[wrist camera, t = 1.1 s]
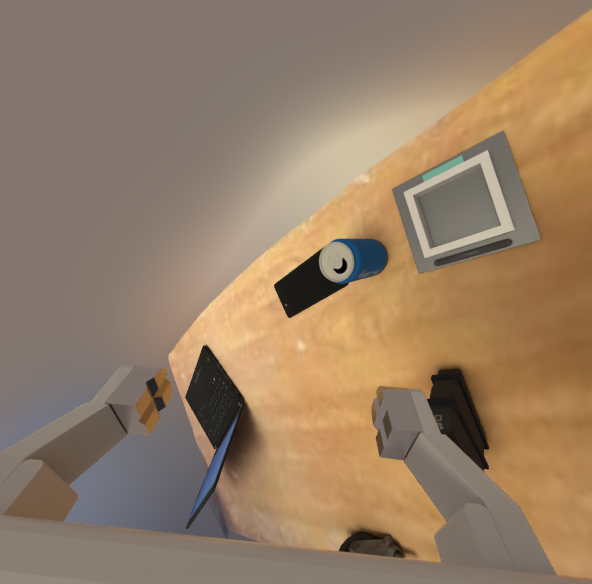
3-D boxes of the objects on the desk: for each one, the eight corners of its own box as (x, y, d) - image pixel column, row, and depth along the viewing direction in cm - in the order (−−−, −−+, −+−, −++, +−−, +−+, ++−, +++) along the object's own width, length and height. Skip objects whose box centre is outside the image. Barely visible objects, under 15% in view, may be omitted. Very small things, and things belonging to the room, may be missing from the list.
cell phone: (350, 283, 48) (348, 284, 47) (290, 317, 60) (288, 318, 59) (330, 244, 50) (327, 244, 49) (275, 284, 61) (273, 285, 60)
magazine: (453, 350, 37) (454, 453, 26) (485, 410, 40) (498, 523, 30) (426, 354, 39) (417, 449, 29) (459, 410, 43) (462, 513, 32)
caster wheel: (361, 544, 57) (424, 571, 47) (336, 587, 51) (403, 630, 40) (350, 518, 58) (410, 539, 47) (324, 557, 51) (387, 591, 41)
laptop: (207, 342, 86) (146, 363, 72) (274, 439, 71) (214, 491, 56) (188, 395, 103) (135, 421, 88) (238, 483, 87) (184, 531, 73)
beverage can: (370, 283, 45) (335, 294, 36) (347, 258, 47) (309, 262, 38) (397, 257, 42) (366, 262, 32) (370, 231, 44) (335, 228, 35)
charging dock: (503, 132, 31) (503, 122, 29) (540, 239, 30) (543, 239, 28) (393, 189, 40) (386, 186, 38) (420, 273, 40) (414, 275, 37)
